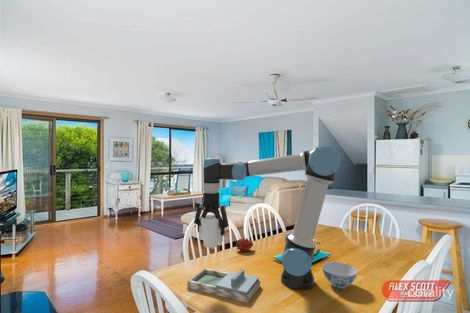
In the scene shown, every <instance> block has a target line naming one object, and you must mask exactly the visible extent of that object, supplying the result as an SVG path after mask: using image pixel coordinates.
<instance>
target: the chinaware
mask: <svg viewBox="0 0 470 313" xmlns="http://www.w3.org/2000/svg"><path fill="white" fill-rule="evenodd" d="M321 266H322V267H321V268H322V273H323V275H324V277H325V278H326V280H327V281H328V282H329V283H330V285H331V286H332V285H333V288H336V287H337V288H336V289H339V288H344V289H347V288H346V287H348V286H350V285H351V284H353V283H354V281H355V280H356V278H357V275H358V270H357V269H356V267H354V266H352V265H350V264H347V263H343V262H336V261H327V262H325V263H323V264H322V265H321Z"/></svg>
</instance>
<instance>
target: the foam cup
mask: <svg viewBox="0 0 470 313" xmlns="http://www.w3.org/2000/svg"><path fill="white" fill-rule="evenodd" d="M200 217H201V216H200ZM221 218H222V216H221ZM201 225H202V234H203V239H202V242H203V246H204V247H205V248H209V249H210V248H211V249H212V248H213V249H214V248H217V247H218V245H219V228H220V226H219V219H216V217H215V215H214V214H207V215H206V217H205V218H203V217H201Z"/></svg>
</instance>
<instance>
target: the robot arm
mask: <svg viewBox="0 0 470 313" xmlns="http://www.w3.org/2000/svg"><path fill="white" fill-rule="evenodd" d="M340 166H341V156H340V154H339V152H338V150H336V149H335V148H334V147H332V146H330V145H324V144H322V145H318V146H316V147H315V148H313V149H310V150H304V151H302V152H301V153H298V154H290V155H284V156H275V157H269V158H262V159H261V158H260V159H254V160H248V161H238V162H221V159H220V158H213V157H212V158H211V157H210V158H209V157H207V158H204V160H203V168H202V169H203V171H202V173H203V176H202V177H203V180H202V185H203V186H202V187H203V188H202V192H203V193H202V198H203V199H202V200H203V201H202V202H198V203H196V207H197V208H196V212H195V215H194V216H195V217H194V219H193V220H194V221H193V224H194V225H197V232H198V240H199V241H201V240H202V241H203V234H202V225H201V217H203V218H205V217H206V215H208V213H211V214H212V215H215V217H216V219H219V226H220V228H219V240H218V244H222V243H223V241H224V240H223V239H224V235H225V233H226V231H225V230H226V228H228V227H229V225H230V224H229V220H228V216H227V211H226V207H227V206H226V204H220V199H221V197H220V194H221V193H220V192H221V191H220V188H221V186H220V181H221V180H228V181H244V180H245V179H246V178H249V177H254V176H255V177H256V176H264V175H272V174H273V175H274V174H280V173H281V174H282V173H289V172H298V171H300V172H301V171H304V172H305V173H304V175H305V176H306V179H307V180H306V182H305V187H304V190H303V194H302V197H301V202H300V205H299V208H298V212H297V216H296V219H295V223H294V226H293V230H292V231H289V232H286V233H285V237H284V240H285V242H284V243H285V245H284V248H283V253H282V255H281V264H282V267H283V269H282V272H281V275H280V276H281V277H280V281H281V283H282V285H284V286H286V287H287V288H290V289H295V290H309V289H311V288H313V287H314V286H315V276H314V274H313V270H312V265H313V264H312V263H313V262H312V259H313V255H314V252H315V248H316V243H315V242H314V238H315V234H316V231H317V226H318V224H319V220H320V217H321V213H322V209H323V206H324V201H325V198H326V194H327V193H328V192H327V191H328V188H329V186H330V185H331V184H332V183H334V182H335V178H336V174H337V171H338V170H339V168H340ZM203 208H204V209H203ZM221 217H222V218H221Z"/></svg>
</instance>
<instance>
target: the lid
mask: <svg viewBox="0 0 470 313" xmlns="http://www.w3.org/2000/svg"><path fill="white" fill-rule="evenodd" d="M227 273H228V274H227V275H226V276H225V277H224V278H223V279H222V280H221V281H220V282H219V283H217V284H216V287H219V288H223V289H227V290H232V291H236V292H240V293H244V294H247V293H248V292H249V290H250V289H251V288H252V287H253V285H254V284H255V283H256V281H257V280H258V279H259V276H256V275H250V274H246V273H245V269H243V268H241V269H240V270H238V271H237V272H235V271H229V272H227ZM259 280H260V279H259Z"/></svg>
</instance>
